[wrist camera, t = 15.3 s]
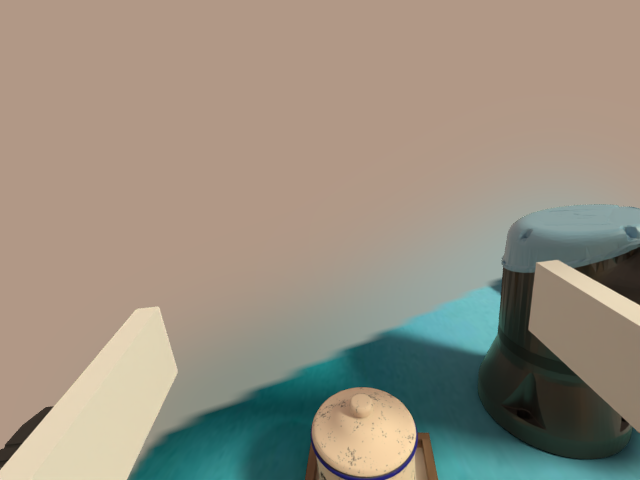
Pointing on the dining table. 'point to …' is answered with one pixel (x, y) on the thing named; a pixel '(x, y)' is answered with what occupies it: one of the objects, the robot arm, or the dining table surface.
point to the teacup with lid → (364, 437)
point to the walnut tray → (423, 461)
